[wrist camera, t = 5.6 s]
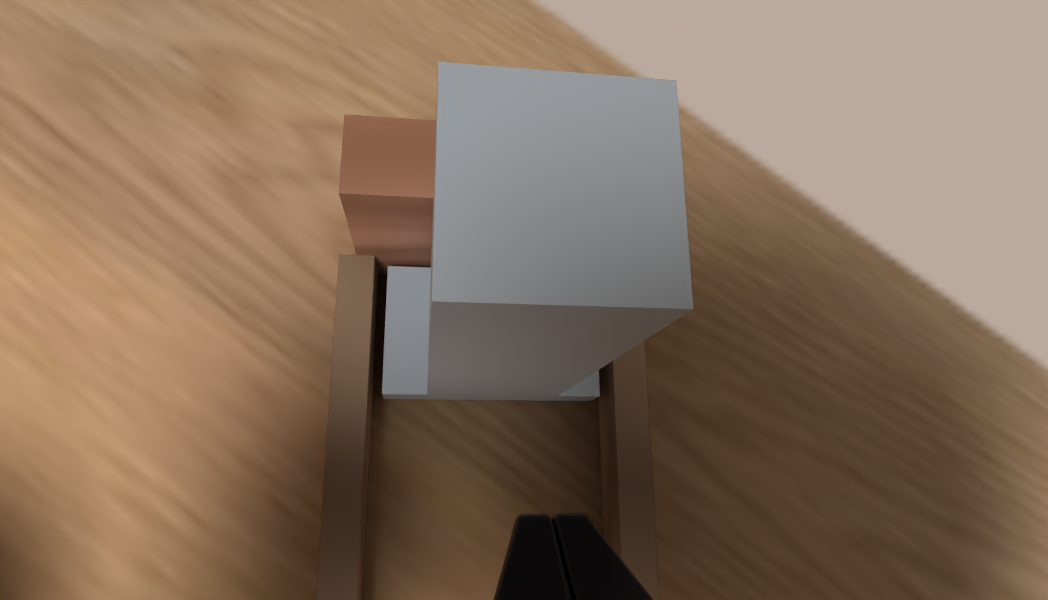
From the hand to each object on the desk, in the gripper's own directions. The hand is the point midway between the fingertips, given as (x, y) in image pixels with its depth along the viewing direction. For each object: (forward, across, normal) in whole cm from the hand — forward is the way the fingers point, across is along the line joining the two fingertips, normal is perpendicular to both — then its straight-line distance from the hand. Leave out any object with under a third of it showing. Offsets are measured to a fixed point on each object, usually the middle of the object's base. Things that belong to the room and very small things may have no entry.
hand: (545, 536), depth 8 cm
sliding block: (+9, 0, +3) cm, 9 cm away
